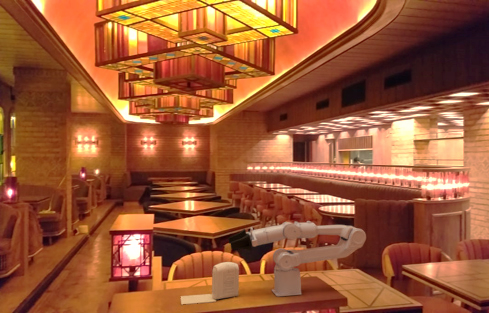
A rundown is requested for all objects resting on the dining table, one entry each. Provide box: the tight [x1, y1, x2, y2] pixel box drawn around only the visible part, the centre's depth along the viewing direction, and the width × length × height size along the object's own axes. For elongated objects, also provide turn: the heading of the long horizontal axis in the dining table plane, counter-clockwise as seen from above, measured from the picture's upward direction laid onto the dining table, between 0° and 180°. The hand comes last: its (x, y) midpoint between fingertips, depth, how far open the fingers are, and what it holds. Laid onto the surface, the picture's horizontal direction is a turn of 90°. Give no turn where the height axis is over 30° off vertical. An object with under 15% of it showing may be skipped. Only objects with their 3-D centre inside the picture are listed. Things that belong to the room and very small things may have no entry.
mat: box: [179, 293, 217, 306], centre depth 148 cm, size 12×9×1 cm
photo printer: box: [211, 261, 240, 300], centre depth 150 cm, size 10×4×12 cm, turn 123°
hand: (229, 243), depth 151 cm, fingers open, 7 cm apart
